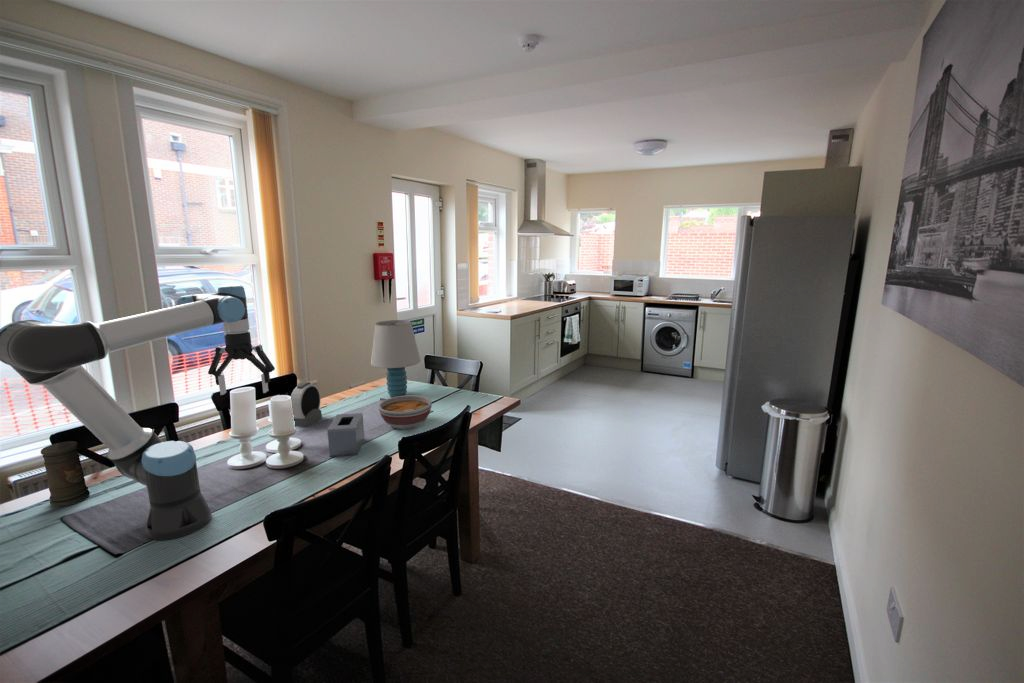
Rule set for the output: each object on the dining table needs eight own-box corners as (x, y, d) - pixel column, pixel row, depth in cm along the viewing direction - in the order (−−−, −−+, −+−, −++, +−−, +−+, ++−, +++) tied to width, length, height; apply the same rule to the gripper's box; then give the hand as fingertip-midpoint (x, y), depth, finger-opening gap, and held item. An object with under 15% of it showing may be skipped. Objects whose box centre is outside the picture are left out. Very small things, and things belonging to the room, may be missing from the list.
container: (43, 509, 141) (30, 454, 138) (62, 494, 150) (51, 442, 146) (79, 504, 143) (67, 450, 140) (96, 490, 152) (85, 438, 148)
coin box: (364, 438, 192) (362, 413, 190) (357, 455, 176) (355, 427, 174) (339, 439, 191) (337, 414, 188) (329, 457, 175) (327, 429, 173)
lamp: (407, 385, 265) (404, 317, 257) (430, 396, 246) (427, 322, 238) (365, 394, 249) (359, 322, 241) (385, 406, 230) (380, 328, 222)
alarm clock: (307, 428, 203) (303, 388, 199) (286, 427, 204) (281, 387, 201) (327, 415, 218) (324, 378, 215) (307, 414, 220) (303, 377, 216)
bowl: (437, 429, 200) (436, 407, 198) (383, 438, 192) (381, 415, 190) (426, 412, 221) (426, 392, 219) (377, 419, 213) (375, 398, 211)
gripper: (280, 328, 160) (286, 387, 165) (202, 331, 157) (210, 391, 161) (272, 332, 153) (279, 394, 157) (190, 335, 150) (199, 398, 154)
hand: (244, 392), depth 159 cm, fingers open, 13 cm apart
